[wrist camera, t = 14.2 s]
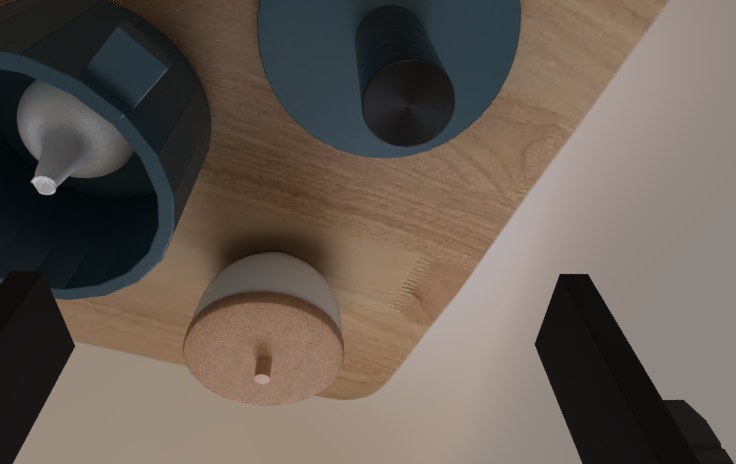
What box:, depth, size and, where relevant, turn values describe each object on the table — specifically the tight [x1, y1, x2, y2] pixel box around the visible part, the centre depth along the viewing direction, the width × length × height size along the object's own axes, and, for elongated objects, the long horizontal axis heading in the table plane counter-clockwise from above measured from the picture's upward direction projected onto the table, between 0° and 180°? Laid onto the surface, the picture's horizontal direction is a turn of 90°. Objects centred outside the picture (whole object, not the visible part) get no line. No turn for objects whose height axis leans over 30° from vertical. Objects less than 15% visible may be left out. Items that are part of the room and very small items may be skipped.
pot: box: [0, 0, 211, 300], centre depth 28 cm, size 14×19×10 cm
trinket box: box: [183, 252, 344, 406], centre depth 37 cm, size 11×11×9 cm
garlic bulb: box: [17, 80, 135, 195], centre depth 28 cm, size 6×6×8 cm
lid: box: [258, 0, 521, 158], centre depth 26 cm, size 15×15×10 cm
